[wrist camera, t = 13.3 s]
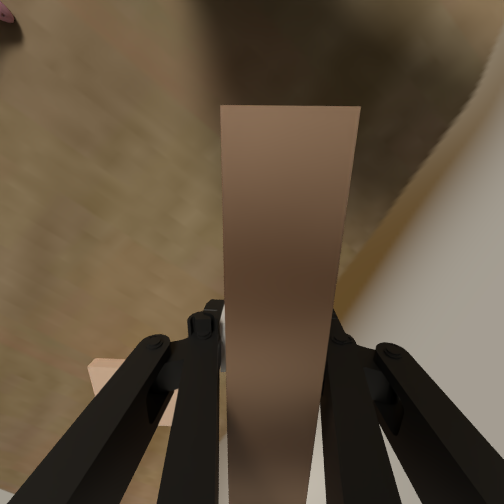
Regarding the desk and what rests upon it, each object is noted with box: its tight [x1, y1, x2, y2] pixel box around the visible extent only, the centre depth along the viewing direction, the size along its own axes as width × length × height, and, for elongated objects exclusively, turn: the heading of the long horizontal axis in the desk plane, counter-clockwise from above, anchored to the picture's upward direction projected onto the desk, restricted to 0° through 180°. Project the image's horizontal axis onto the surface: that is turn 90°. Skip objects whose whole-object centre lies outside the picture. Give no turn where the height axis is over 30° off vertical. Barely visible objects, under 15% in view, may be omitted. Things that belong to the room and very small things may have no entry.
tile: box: [88, 358, 178, 426], centre depth 35 cm, size 2×12×10 cm
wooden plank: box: [220, 105, 361, 504], centre depth 13 cm, size 18×3×10 cm, turn 179°
